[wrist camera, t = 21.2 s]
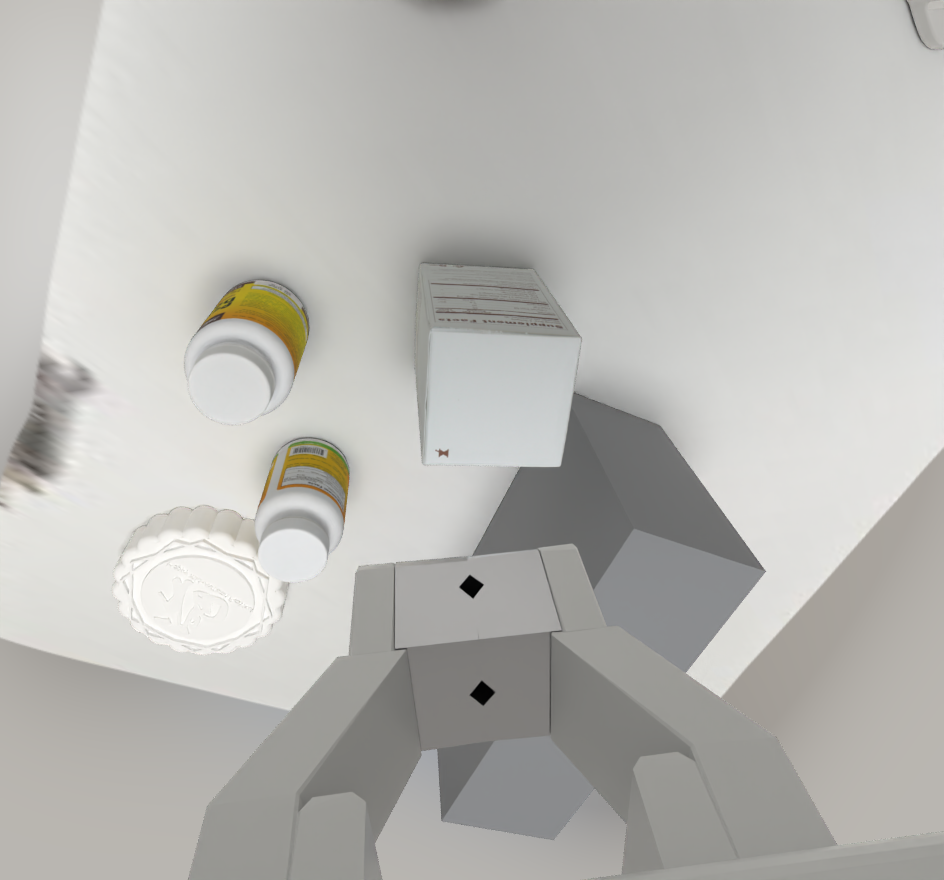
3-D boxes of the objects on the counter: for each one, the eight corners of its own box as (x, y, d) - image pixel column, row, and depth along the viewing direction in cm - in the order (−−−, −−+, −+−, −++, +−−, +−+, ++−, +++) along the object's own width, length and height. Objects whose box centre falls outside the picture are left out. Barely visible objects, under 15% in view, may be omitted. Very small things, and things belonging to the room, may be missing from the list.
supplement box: (522, 374, 46) (562, 473, 35) (412, 369, 45) (417, 469, 34) (537, 265, 42) (587, 337, 31) (418, 257, 41) (426, 328, 30)
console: (660, 425, 48) (765, 571, 35) (516, 654, 58) (553, 840, 44) (562, 388, 46) (633, 528, 32) (430, 633, 56) (441, 821, 42)
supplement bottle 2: (306, 513, 49) (287, 606, 41) (255, 463, 47) (224, 550, 38) (365, 475, 48) (359, 563, 40) (316, 422, 46) (297, 503, 37)
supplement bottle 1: (242, 259, 40) (198, 315, 31) (326, 307, 42) (307, 373, 33) (203, 335, 42) (151, 407, 33) (285, 377, 44) (256, 457, 35)
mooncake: (93, 576, 50) (73, 610, 47) (184, 473, 47) (169, 503, 44) (231, 649, 55) (221, 684, 52) (323, 560, 52) (318, 592, 49)
